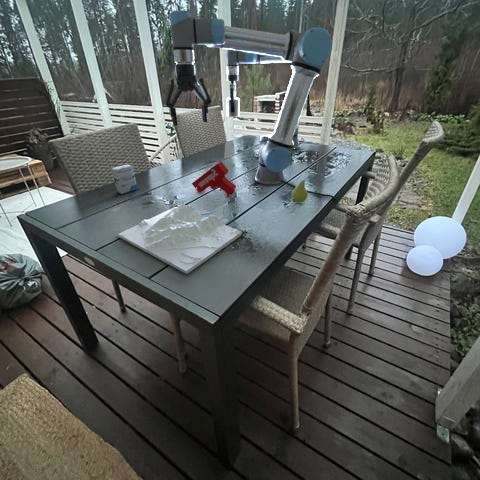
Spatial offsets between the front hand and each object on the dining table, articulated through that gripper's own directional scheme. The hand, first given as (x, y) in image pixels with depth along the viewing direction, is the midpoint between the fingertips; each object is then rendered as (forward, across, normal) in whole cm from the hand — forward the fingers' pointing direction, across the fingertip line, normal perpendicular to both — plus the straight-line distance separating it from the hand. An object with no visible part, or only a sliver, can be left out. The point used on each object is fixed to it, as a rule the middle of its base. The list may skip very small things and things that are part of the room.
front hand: (190, 123), depth 115 cm
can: (+10, -62, -64) cm, 90 cm away
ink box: (+31, +28, -21) cm, 47 cm away
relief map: (+31, +23, +34) cm, 51 cm away
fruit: (+31, -33, +36) cm, 58 cm away
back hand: (+7, -62, -64) cm, 89 cm away
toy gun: (+31, -6, +6) cm, 32 cm away
